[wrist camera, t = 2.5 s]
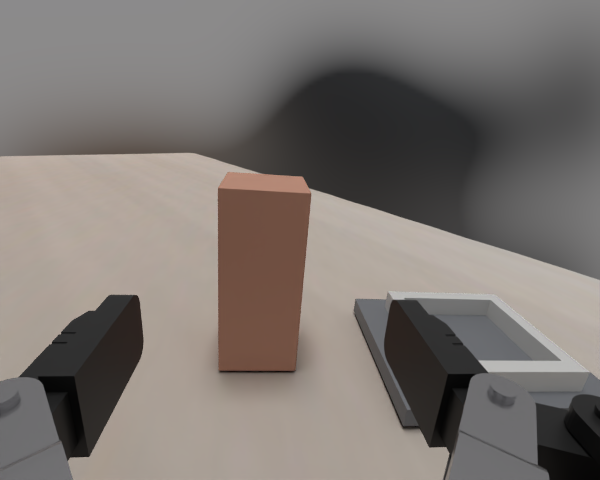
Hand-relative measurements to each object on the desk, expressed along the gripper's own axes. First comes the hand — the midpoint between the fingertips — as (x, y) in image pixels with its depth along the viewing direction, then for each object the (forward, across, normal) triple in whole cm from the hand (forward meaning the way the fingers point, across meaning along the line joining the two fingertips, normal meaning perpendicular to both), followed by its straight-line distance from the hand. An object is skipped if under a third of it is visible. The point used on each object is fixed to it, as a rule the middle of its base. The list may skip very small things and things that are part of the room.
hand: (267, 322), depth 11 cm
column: (+12, 0, +10) cm, 15 cm away
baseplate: (+11, -15, +10) cm, 21 cm away
